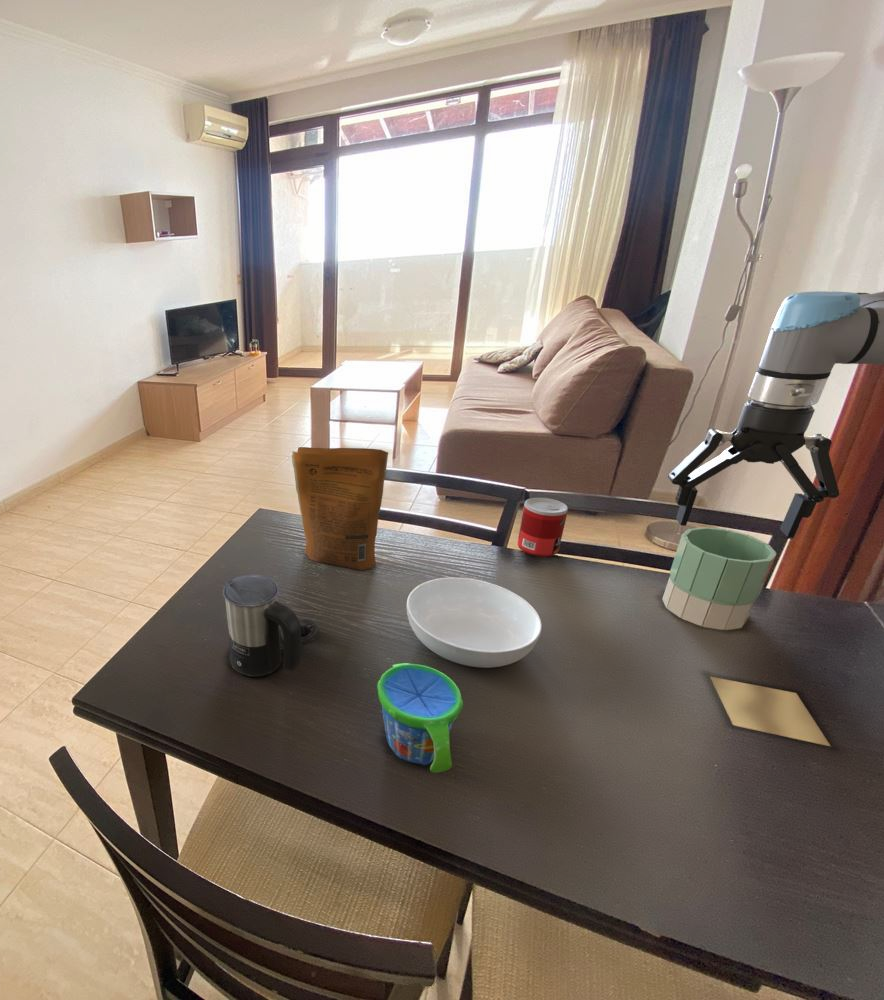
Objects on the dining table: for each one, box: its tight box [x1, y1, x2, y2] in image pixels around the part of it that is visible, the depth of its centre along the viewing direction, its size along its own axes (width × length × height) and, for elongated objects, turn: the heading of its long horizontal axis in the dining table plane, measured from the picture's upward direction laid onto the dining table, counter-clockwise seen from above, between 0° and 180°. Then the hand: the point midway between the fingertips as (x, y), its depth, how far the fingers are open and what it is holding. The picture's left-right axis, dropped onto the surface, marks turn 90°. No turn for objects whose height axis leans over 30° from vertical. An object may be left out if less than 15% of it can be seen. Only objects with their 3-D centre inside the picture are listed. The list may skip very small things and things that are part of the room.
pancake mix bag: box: [291, 446, 389, 571], centre depth 114 cm, size 7×19×28 cm, turn 62°
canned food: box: [517, 497, 569, 558], centre depth 116 cm, size 8×8×11 cm
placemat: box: [709, 676, 831, 747], centre depth 77 cm, size 10×10×1 cm
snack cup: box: [376, 662, 464, 774], centre depth 74 cm, size 16×10×10 cm
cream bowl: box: [662, 576, 755, 631], centre depth 95 cm, size 11×11×6 cm
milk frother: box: [222, 574, 321, 678], centre depth 93 cm, size 14×16×15 cm
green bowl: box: [669, 526, 778, 606], centre depth 93 cm, size 12×12×12 cm
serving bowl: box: [406, 577, 543, 669], centre depth 93 cm, size 21×21×7 cm
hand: (732, 527), depth 89 cm, fingers open, 13 cm apart
